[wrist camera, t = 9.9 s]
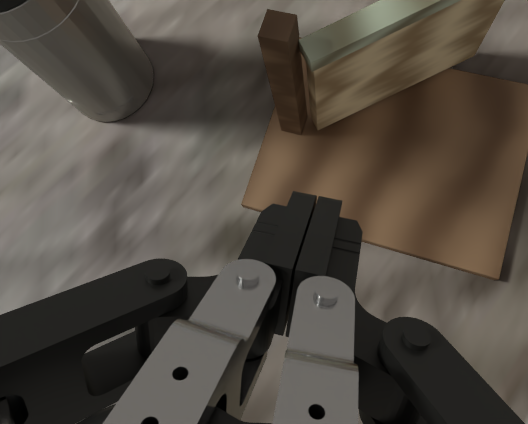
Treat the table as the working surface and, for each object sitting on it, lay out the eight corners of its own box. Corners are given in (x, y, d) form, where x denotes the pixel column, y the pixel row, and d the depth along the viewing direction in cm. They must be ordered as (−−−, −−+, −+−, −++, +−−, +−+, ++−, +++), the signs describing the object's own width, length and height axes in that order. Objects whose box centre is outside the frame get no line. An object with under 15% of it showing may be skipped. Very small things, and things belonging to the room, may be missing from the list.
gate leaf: (316, 134, 42) (310, 62, 31) (306, 116, 43) (298, 40, 31) (478, 56, 42) (536, -47, 30) (467, 39, 43) (520, -68, 31)
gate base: (243, 206, 43) (195, 144, 28) (299, 43, 46) (284, -95, 31) (494, 280, 39) (604, 253, 23) (537, 92, 42) (658, -40, 26)
